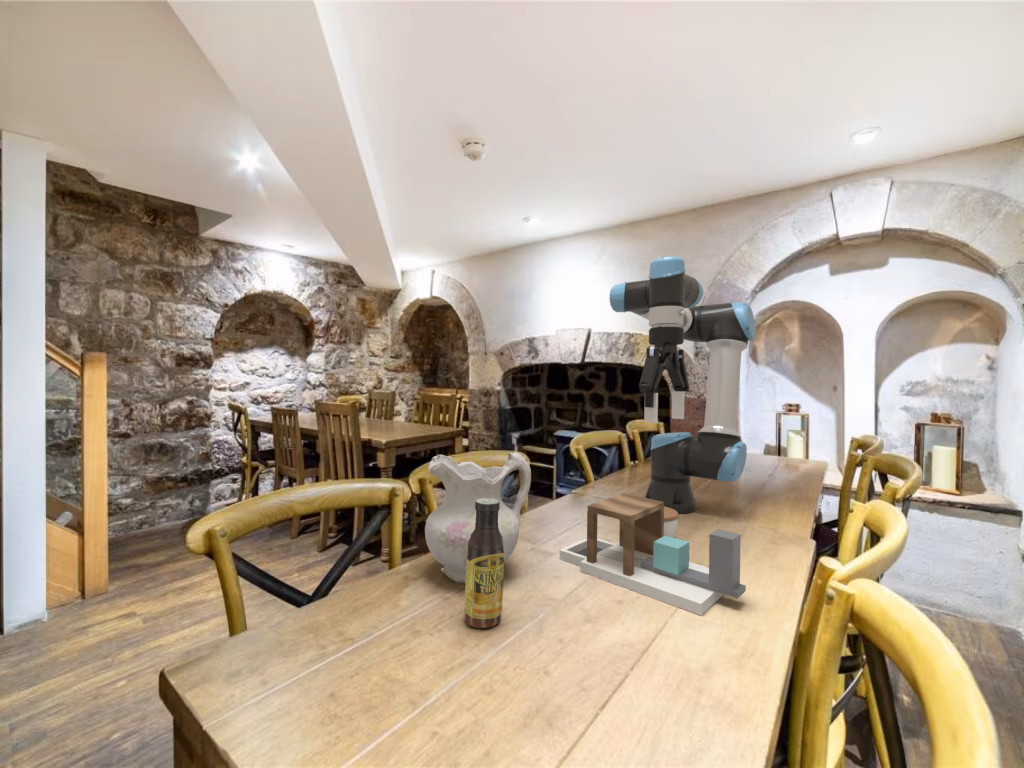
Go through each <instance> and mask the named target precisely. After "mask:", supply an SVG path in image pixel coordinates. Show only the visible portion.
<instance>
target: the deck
mask: <svg viewBox="0 0 1024 768" xmlns="http://www.w3.org/2000/svg"><path fill="white" fill-rule="evenodd" d="M648 557H653V555H649V554H646V553H643V552H639V551H636V550H634V574H633V575H632V576H630V577H629V576H627V575H624V574H623V546H619V542H618V543H614V542H609V541H606V540H603V539H600V538H597V562H595V563H593V564H592V563H589V562H587V537H586V538H584V539H581V540H579V541H577V542H575V543H572V544H570V545H567V546H565V547H563V548H561V549H559V560H562V561H565V562H568V563H570V564H573V565H575V566H579V568H580V569H579V572H582V573H585V574H587V575H591V576H593V577H595V578H597V579H601V580H603V581H607V582H608V583H611V584H614V585H617V586H620V587H622V588H625V589H628V590H631V591H633V592H636V593H639V594H642V595H643V596H646V597H649V598H653V599H655V600H657V601H661V602H664V603H665V604H668V605H672V606H674V607H677V608H679V609H682V610H684V611H688V612H689V613H693V614H696V615H698V616H703V615H704V614H705V613H706V612H707V610H709V609H710V608H711V607H712V606H713V605H714V604H715V603H716V602H717V601H718V600H719V599H721V598H722V597H723V596H724V595H725V594H722V593H719V592H716V591H713V590H710V589H707V588H704V587H701V586H698V585H694V584H691V583H688V582H685V581H682V580H679V579H676V578H673V577H670V576H667V575H664V574H660V573H657V572H654V571H651V570H648V569H645V568H642V567H640V563H641V561H643V560H645V559H647V558H648ZM689 568H690V569H693V570H696V571H700V572H703V573H706V574H709V566H708V567H707V566H705V565H701V564H697V563H694V562H691V561H689Z"/></svg>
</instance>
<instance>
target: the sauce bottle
mask: <svg viewBox="0 0 1024 768" xmlns="http://www.w3.org/2000/svg"><path fill="white" fill-rule="evenodd" d="M499 504H500V502H499V500H497V499H493V498H481V499H477V500H476V502H475V509H476V523H475V530H474V531H473V532H472V534H471V537H470V539H469V541H468V555H467V562H466V584H465V588H464V589H465V591H464V612H465V613H464V616H465V617H464V619H465V623H467V625H469V626H470V627H472V628H476V629H489V628H492V627H494V626H496V625H497V624H499V623H500V621H501V617H502V612H503V601H504V600H503V596H504V570H505V568H504V567H505V562H504V547H503V538H502V535H501V533H500V531H499V528H498V511H499V509H500V505H499Z"/></svg>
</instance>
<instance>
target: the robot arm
mask: <svg viewBox="0 0 1024 768" xmlns="http://www.w3.org/2000/svg"><path fill="white" fill-rule="evenodd" d="M685 272H686V268H685V260H684V258H682V257H679V256H662V257H658V258H655V259H653V260H652V261H651V262H650V265H649V274H648V279H645V280H637V281H628V282H623V283H618V284H614V285H613V286H612V287H611V289H610V290H609V291H610V292H609V303H610V307H611V309H612V311H614V312H616V313H627V312H631V313H632V314H635V315H637V316H639V317H641V318H644V319H645V320H648V326H649V327H651V328H649V330H648V343H649V344H650V345H651V346H650V347H646V355H645V359H644V360H645V361H644V364H643V368H642V373H641V376H640V380H639V384H638V389H639V392H640V393H644V409H643V410H644V411H643V413H644V414H643V415H644V416H643V417H644V422H643V423H649V424H650V423H651V424H658V421H659V419H658V416H659V415H658V414H659V413H658V412H659V409H658V408H659V392H657V388H658V386H659V384H660V381H661V378H662V376H663V374H664V371H667V374H668V377H669V379H670V382H671V384H672V387H673V391H672V392H671V419H676V420H685V392H689V390H690V383H689V378H688V373H687V368H686V363H685V362H686V361H685V355H684V352H685V351H684V349H678V347H677V346H678V345H679V346H680V345H683V344H684V341H687V342H688V341H689V342H692V343H693V342H695V343H705V346H706V348H708V349H709V351H710V356H709V357H710V358H709V366H708V378H707V388H706V389H707V391H706V400H705V401H706V402H705V409H704V410H705V412H704V421H703V422H704V425H703V427H702V428H701V429H699V430H698V431H697V437H692V434H691V432H689V431H688V432H687V431H686V432H684V431H682V432H680V431H679V432H678V431H677V432H666V433H660V434H659V433H658V434H655V435H654V436H652V438H651V445H650V481H649V485H648V487H647V489H646V493H645V496H644V498H647V499H652V500H657V501H662V502H664V506H665V507H669V508H672V509H674V510H676V511H677V512H678V514H688V513H693V512H695V511H696V509H697V507H696V506H697V503H696V498H695V495H694V492H693V490H692V486H691V478H700V479H706V480H712V481H718V482H729V483H730V482H731V483H732V482H736V481H738V479H739V478H741V476H742V473H743V471H744V468H745V465H746V463H747V462H746V461H747V454H748V453H747V451H748V449H747V447H748V446H747V444H746V443H745V442H743V441H741V440H742V436H741V435H740V434H739V433H738V432H737V429H736V428H737V417H738V416H737V415H738V402H739V389H740V379H741V363H742V353H743V352H744V351H745V350H746V349H748V345H749V342H751V341H753V340H755V339H756V322H755V316H754V312H753V310H752V307H751V306H750V304H748V303H747V302H744V301H743V302H738V301H737V302H734V301H731V302H726V303H725V302H724V303H717V304H716V303H715V304H704V305H698V304H699V303H700V302H701V300H702V298H703V295H704V288H703V286H702V284H701V283H700V281H698V280H697V279H696V278H695V277H694V276H691V275H688V274H686V273H685Z"/></svg>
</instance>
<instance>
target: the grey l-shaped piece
mask: <svg viewBox="0 0 1024 768" xmlns="http://www.w3.org/2000/svg"><path fill="white" fill-rule="evenodd" d="M741 536H742V535H741V534H740V533H736V532H732V531H728V530H724V529H719V528H717V529H716V530H713V531H712V532H711V533H709V538H708V539H709V540H708V541H709V545H708V546H709V548H708V551H709V552H708V553H709V555H708V568H709V574H706V573H703V572H700V571H696V570H693V569H690V568H687V569H686V570H685V571H683V572H682V573H680V574H679V575H676V574H673V573H670V572H667V571H664V570H660V569H657V568H654V567H653V557H648V558H647V559H645V560H643V561H641V563H640V567H642V568H645V569H648V570H651V571H654V572H657V573H660V574H664V575H667V576H670V577H673V578H676V579H679V580H682V581H685V582H688V583H691V584H694V585H698V586H701V587H704V588H707V589H710V590H713V591H716V592H719V593H722V594H724V595H725V596H729V597H732V598H734V599H739V598H741V596H742V595H744V593H745V592H746V591H747V588H746V587H747V585H746V584H742V583H741V539H742V538H741Z"/></svg>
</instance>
